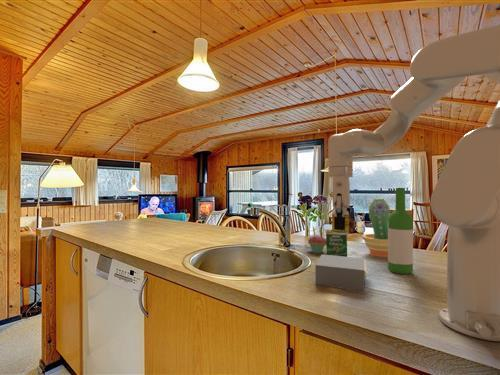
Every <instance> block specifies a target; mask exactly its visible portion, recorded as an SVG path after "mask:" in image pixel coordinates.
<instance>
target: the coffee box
mask: <svg viewBox="0 0 500 375" xmlns="http://www.w3.org/2000/svg"><path fill="white" fill-rule="evenodd" d="M325 239H326V245H325V247H326V248H325V249H326V255H333V256H344V257H348V234H347V235H337V234H333V233H332V229H326V230H325Z"/></svg>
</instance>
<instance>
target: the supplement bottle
mask: <svg viewBox="0 0 500 375" xmlns="http://www.w3.org/2000/svg"><path fill="white" fill-rule="evenodd" d="M334 205H335V204H334ZM341 207H343V206H341ZM333 209H334V210H332V211H331V230H332V233H333V234H337V235H347V236H348V235H349V234H350V212H349V211H348V210H347V209H348V208H347V206H344V217H345V230H336V229H334V217H335V208H334V207H333Z"/></svg>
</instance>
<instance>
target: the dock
mask: <svg viewBox="0 0 500 375" xmlns="http://www.w3.org/2000/svg"><path fill="white" fill-rule="evenodd" d="M314 269H315V285H320V286H327V287H333V288H334V287H336V288H341V289H347V290H348V289H349V290H354V291H355V290H356V291H362V292H363V291H365V279H366V278H367V274H366V273H367V272H366V259H365V258H363V257H356V256H355V257H353V256H352V257H351V256H347V257H344V256H333V255H327V254H321V255H320V257H319V258H318V260H317V262H316V263H315V268H314Z"/></svg>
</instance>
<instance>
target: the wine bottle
mask: <svg viewBox="0 0 500 375" xmlns="http://www.w3.org/2000/svg"><path fill="white" fill-rule="evenodd" d="M387 268H388V270H389V271H391V272H392V273H394V274H400V275H409V274H412V273H413V271H414V219H413V217H412V215H411V214H410V213H409V212H408V211H407V210H406V188H405V187H395V209H394V210H393V211H392V212H390V216H389V219H388V257H387Z"/></svg>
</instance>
